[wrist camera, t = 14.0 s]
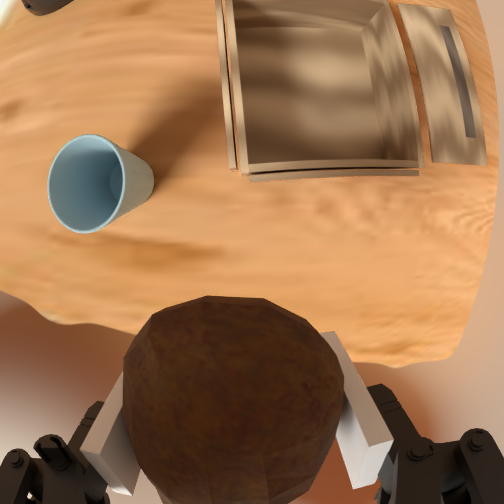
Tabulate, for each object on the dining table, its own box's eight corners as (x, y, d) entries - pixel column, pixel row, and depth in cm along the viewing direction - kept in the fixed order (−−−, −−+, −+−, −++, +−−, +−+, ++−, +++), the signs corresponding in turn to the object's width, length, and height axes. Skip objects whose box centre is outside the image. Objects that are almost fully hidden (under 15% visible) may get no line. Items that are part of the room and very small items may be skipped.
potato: (159, 416, 13) (125, 533, 6) (155, 246, 11) (30, 352, 3) (289, 430, 14) (308, 548, 6) (334, 268, 11) (445, 391, 4)
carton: (220, 24, 24) (214, -15, 16) (360, 27, 24) (386, -4, 17) (234, 184, 29) (230, 184, 21) (385, 176, 29) (424, 176, 21)
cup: (153, 136, 27) (111, 117, 17) (173, 202, 29) (138, 213, 19) (95, 163, 28) (39, 159, 18) (114, 225, 29) (63, 245, 19)
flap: (397, 3, 16) (449, 9, 14) (397, 5, 17) (448, 12, 15) (433, 162, 20) (487, 165, 18) (431, 162, 21) (484, 165, 19)
